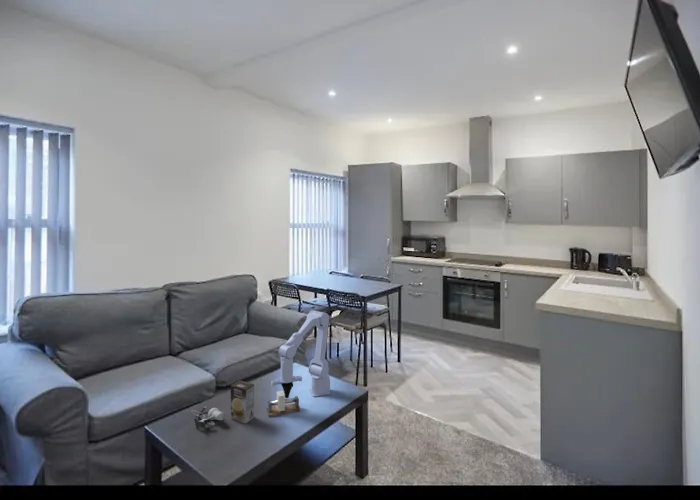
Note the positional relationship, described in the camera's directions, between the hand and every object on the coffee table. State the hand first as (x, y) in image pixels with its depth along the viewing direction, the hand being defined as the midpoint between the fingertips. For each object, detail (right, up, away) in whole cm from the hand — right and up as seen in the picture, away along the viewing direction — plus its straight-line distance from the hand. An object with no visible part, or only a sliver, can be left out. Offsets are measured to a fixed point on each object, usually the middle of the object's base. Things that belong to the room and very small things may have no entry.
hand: (286, 397), depth 180 cm
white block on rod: (-3, -5, -1) cm, 6 cm away
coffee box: (-19, -7, -7) cm, 22 cm away
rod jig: (-2, -6, 0) cm, 7 cm away
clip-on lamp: (-35, -7, -10) cm, 37 cm away
